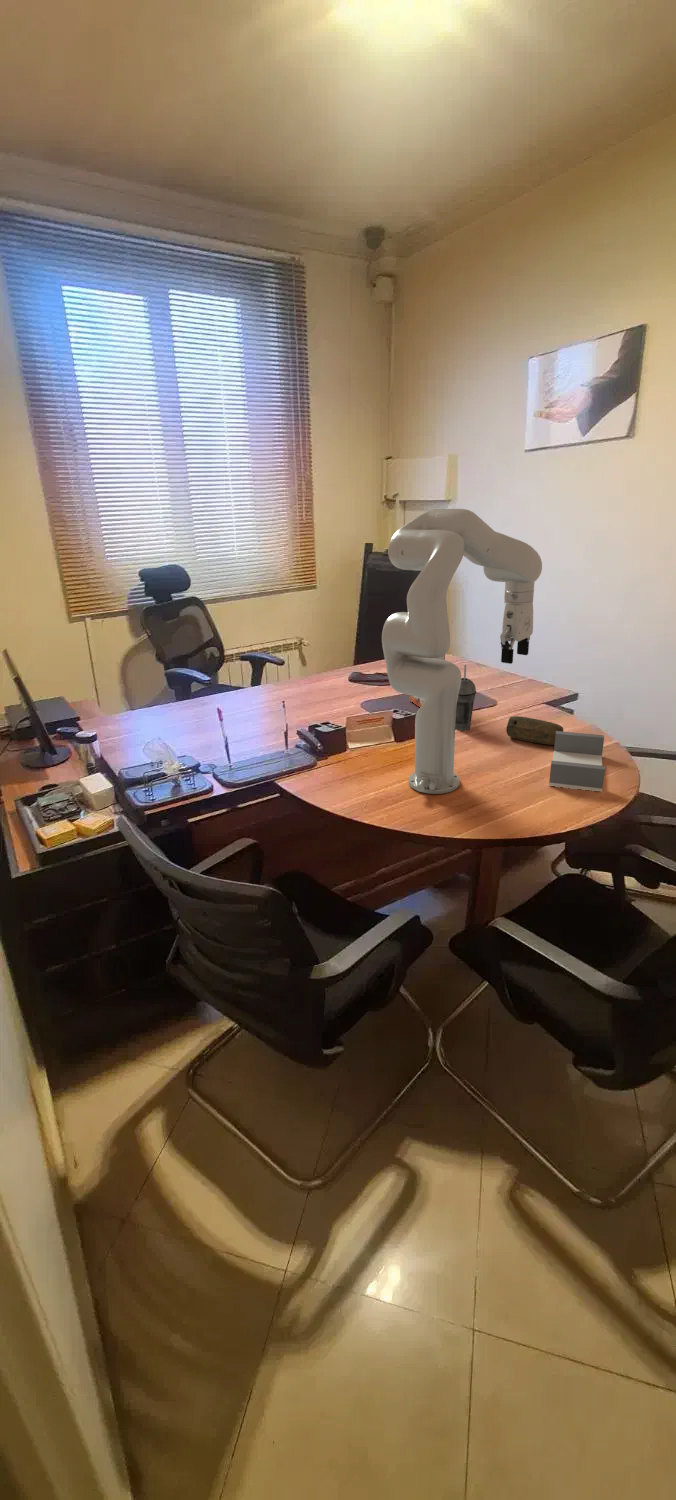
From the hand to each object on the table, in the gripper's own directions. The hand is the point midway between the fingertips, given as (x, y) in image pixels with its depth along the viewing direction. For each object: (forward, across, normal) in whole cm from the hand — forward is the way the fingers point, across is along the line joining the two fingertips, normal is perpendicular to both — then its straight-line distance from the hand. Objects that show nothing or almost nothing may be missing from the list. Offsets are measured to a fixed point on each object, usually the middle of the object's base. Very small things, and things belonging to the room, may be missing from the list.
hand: (514, 658), depth 175 cm
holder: (+22, -14, -25) cm, 36 cm away
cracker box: (+23, +6, +33) cm, 41 cm away
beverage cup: (+23, -4, +14) cm, 27 cm away
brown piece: (+23, -2, -8) cm, 24 cm away
